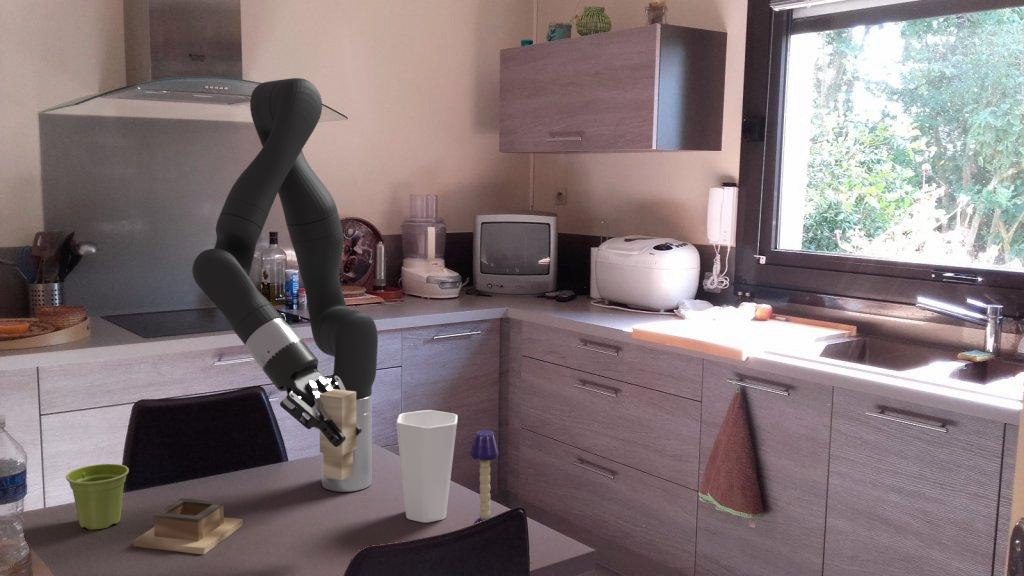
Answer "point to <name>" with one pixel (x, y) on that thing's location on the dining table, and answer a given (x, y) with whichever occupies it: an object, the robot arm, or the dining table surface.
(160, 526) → the board
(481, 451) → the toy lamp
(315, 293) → the robot arm
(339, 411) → the leg peg
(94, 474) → the plant pot
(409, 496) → the cup
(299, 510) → the dining table surface
